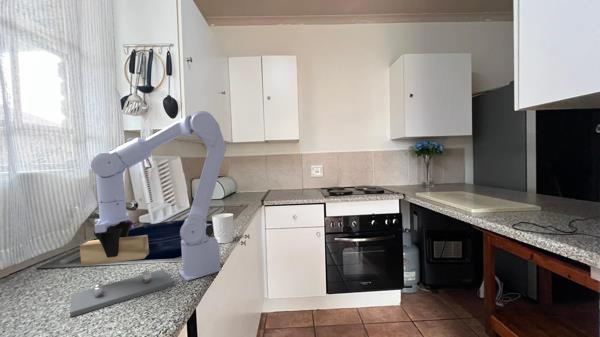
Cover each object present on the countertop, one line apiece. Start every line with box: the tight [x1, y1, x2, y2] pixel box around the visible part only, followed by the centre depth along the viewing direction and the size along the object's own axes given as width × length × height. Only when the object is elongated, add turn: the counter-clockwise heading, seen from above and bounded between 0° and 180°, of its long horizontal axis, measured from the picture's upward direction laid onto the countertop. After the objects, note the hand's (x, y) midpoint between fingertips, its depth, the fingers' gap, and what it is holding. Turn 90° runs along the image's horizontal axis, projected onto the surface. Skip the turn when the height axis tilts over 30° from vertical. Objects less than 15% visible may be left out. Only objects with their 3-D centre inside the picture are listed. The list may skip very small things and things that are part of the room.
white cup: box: [211, 212, 235, 245], centre depth 105 cm, size 8×8×10 cm
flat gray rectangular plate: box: [69, 268, 175, 318], centre depth 67 cm, size 20×11×3 cm, turn 129°
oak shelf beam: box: [79, 234, 150, 267], centre depth 70 cm, size 4×14×5 cm, turn 101°
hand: (116, 253), depth 70 cm, fingers closed on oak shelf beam, 4 cm apart
